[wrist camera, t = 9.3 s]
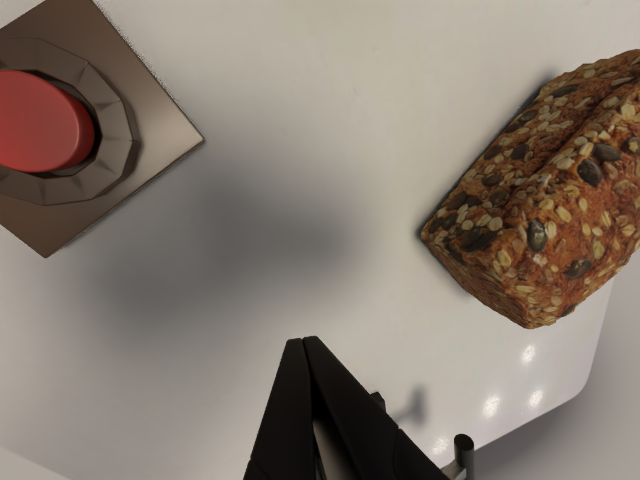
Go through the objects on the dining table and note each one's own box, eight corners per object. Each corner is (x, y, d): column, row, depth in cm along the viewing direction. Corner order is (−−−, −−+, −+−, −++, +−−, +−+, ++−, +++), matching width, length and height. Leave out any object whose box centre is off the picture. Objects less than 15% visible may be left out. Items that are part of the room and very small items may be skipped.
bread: (547, 68, 26) (730, 20, 17) (585, 159, 30) (746, 160, 21) (404, 232, 25) (518, 273, 16) (465, 301, 30) (581, 364, 20)
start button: (46, 187, 14) (25, 191, 12) (-37, 114, 12) (-74, 107, 10) (115, 138, 14) (103, 135, 12) (42, 61, 12) (18, 48, 11)
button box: (63, 247, 17) (26, 271, 14) (-92, 122, 14) (-195, 110, 10) (205, 141, 18) (205, 137, 15) (92, 2, 15) (57, -45, 12)
